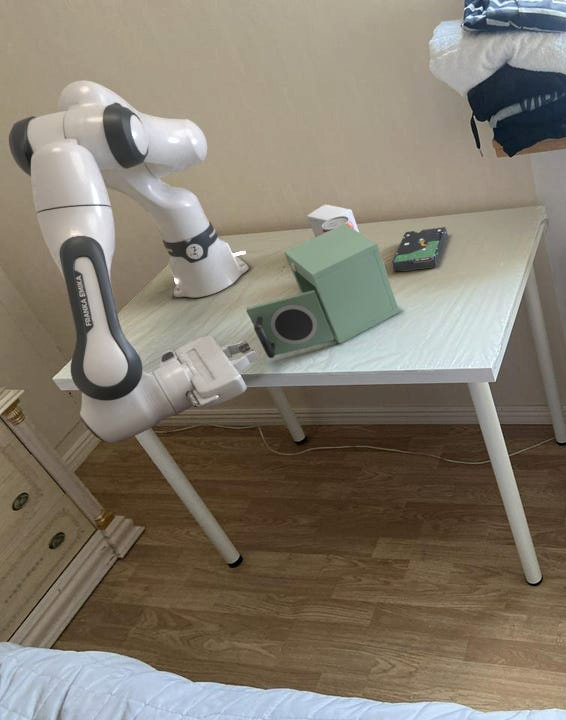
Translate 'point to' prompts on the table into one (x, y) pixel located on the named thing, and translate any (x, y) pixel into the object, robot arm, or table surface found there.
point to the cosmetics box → (328, 217)
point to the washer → (344, 280)
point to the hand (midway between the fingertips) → (251, 348)
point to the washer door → (290, 323)
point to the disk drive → (420, 249)
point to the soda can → (336, 223)
